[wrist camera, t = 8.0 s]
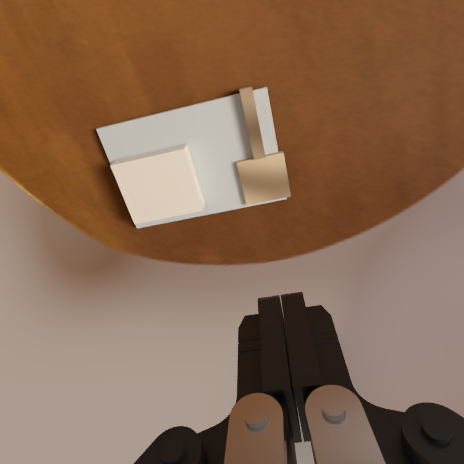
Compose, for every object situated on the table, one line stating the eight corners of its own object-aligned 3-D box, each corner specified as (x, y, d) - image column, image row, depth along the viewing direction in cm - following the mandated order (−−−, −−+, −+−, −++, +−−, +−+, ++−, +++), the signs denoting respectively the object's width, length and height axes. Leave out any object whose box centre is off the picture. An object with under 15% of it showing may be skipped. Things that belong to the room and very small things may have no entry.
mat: (98, 127, 37) (96, 129, 37) (266, 86, 35) (266, 87, 34) (138, 226, 43) (136, 228, 42) (286, 196, 40) (286, 199, 40)
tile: (187, 143, 37) (116, 159, 38) (184, 148, 35) (110, 165, 36) (204, 202, 40) (139, 216, 41) (202, 210, 38) (134, 224, 40)
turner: (220, 92, 34) (219, 94, 34) (271, 80, 34) (271, 81, 33) (246, 202, 40) (246, 206, 39) (290, 194, 39) (291, 197, 38)
